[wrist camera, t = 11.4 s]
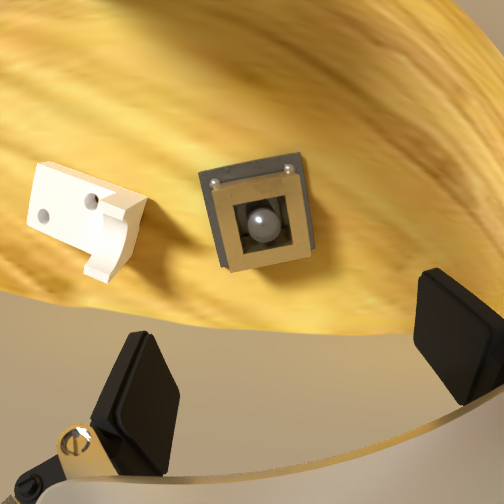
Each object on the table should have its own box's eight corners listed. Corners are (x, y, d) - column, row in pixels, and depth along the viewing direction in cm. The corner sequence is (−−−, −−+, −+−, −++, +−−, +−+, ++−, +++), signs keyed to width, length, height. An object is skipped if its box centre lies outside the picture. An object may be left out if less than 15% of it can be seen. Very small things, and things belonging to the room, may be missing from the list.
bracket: (150, 195, 30) (125, 210, 23) (132, 255, 32) (107, 283, 25) (54, 160, 28) (14, 167, 20) (42, 217, 30) (5, 235, 23)
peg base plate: (199, 171, 29) (188, 178, 22) (298, 152, 29) (315, 153, 22) (221, 263, 32) (217, 294, 26) (312, 245, 32) (331, 270, 26)
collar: (216, 184, 28) (211, 191, 23) (288, 170, 28) (299, 174, 23) (231, 252, 30) (230, 272, 26) (300, 239, 30) (311, 256, 25)
